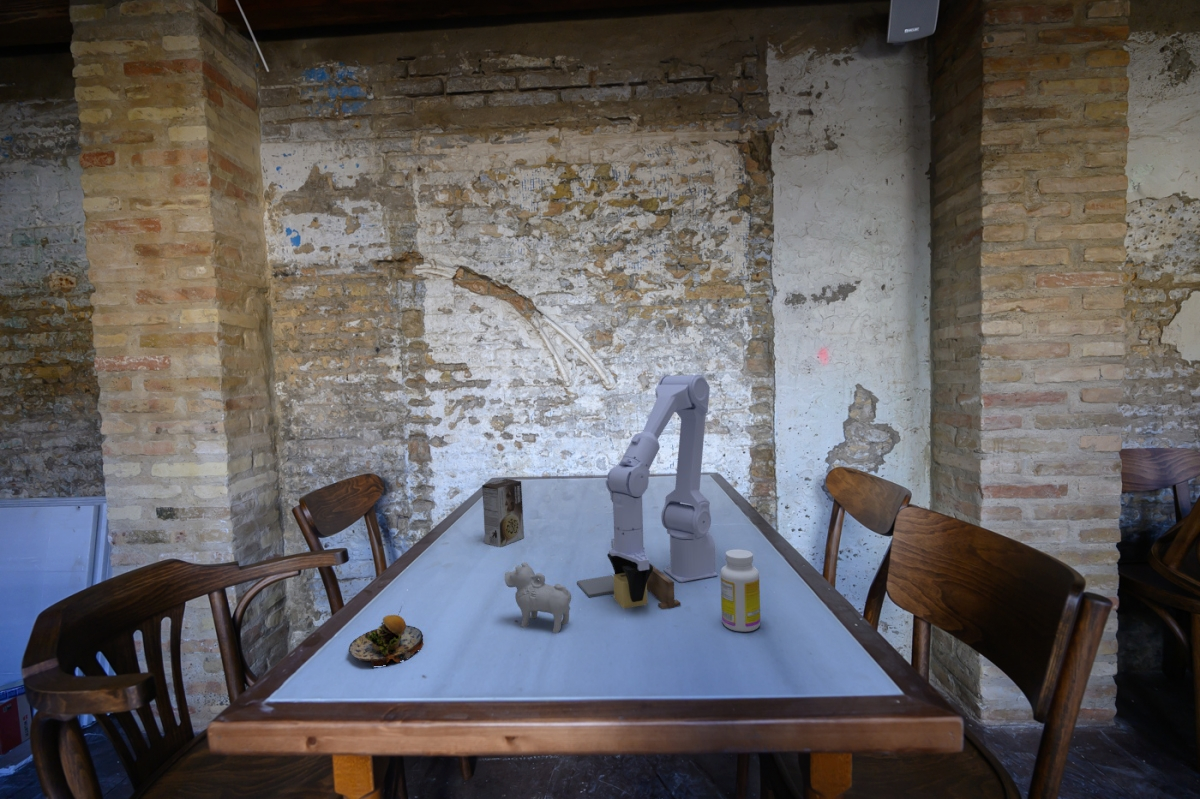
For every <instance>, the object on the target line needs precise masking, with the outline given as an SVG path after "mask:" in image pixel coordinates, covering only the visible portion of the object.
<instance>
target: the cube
mask: <svg viewBox="0 0 1200 799" xmlns="http://www.w3.org/2000/svg"><path fill="white" fill-rule="evenodd" d="M613 577H614V593H613V599H614V601H616V603H617V604H619V605H620V606H621V607H622V609H624V610H625V609H628V608H635V607H639V606H645V605H646V606H647V605H648V590H647V583H646V587H645V592H644V596H643V600H642V601H637V602H632V600H631V597H630V591H629V585H628V580H627V577H626V575H625V573H621V574H615V573H614V574H613Z"/></svg>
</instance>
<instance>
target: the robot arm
mask: <svg viewBox="0 0 1200 799" xmlns="http://www.w3.org/2000/svg"><path fill="white" fill-rule="evenodd" d="M710 388H711V387H710V384H708V381H707V379H706V378H705V377H704V375H702V374H695V375H694V374H691V375H690V374H684V375H670V374H664V375H663V376H661V378H660V379H659V381H658V383H657V385H656V387H655V390H654V391H655V398H656V400H655V402H654V405H653V406H652V409H651V411H650V414H649V416H648V419H647V421H646V423H645V425H644V428H643V430H642V432H639V433H635V434H634V436H632V438H631V440H630V443H629V445H628V447H627V449H626V450H625V453H624V454H623V456H622V457H621V460H620V462H619V464H616V465H615V466H613V467H612V468H611V469H610V470H609V472H608V473H607V478H606V480H605V486H606V489H607V490H608V492H609V494H610V496H609V497H610V500H611V502H612V508H613V509H612V510H613V512H612V513H613V538H611V539H610V540H611V541H610V543H611V544H610V546H611V548H612V549H609V550H608V553H607V558H608V559H609V561H610V564H611V566H612V569H613V572H614V575H615V574H621V573H625V575H626V577H627V580H628V585H629V591H630V597H631V600H632V602H637V601H642V600H643V596H644V592H645V587H646V583H647V580H648V578H649V576H650V574H651V572H652V571H653V566H654V565H652V564H651V563H650V559H649V558H648V556H647V553H646V550H645V549H646V548H645V547H644V520H643V519H644V518H643V517H644V516H643V514H644V512H643V495H644V494H645V492H646V491H647V489H648V486H649V482H650V481H649V478H650V472H651V470H650V468H651V467H652V464H653V462H654V461H655V458H656V456H657V455H658V452H659V450H660V448H661V446H660V443H659V439H660V437H661V435H662V433H663V432H664V430H665V429H666V427H667V425H668V424H669V422H670V420H671V419H672V417H673V415H674V414H675V413H676V414H677V415H678V416H679V418H680V427H679V429H680V430H679V442H678V452H677V453H678V454H677V464H676V475H675V476H676V477H675V488H674V490H672V491H671V492H669V494H667V495H666V496H665V502H664V506H663V508H662V510H661V516H660V519H661V520H660V521H661V523H662V526H663V527H664V528H665V529H666V533H667V534H668V535H669V552H670V554H669V556H670V558H669V559H670V567H669V566H668V567H664V568H663V571H664V572H665V573H666V574H668V575H669V576H670V577H672V578H673V579H674V580H676V581H677V582H679V583H684V582H690V581H695V580H701V579H707V578H711V577H717V576H718V575H719V574H718V572H717V570H716V569H717V566H716V565H717V564H716V543H715V540H714V537H713V535H712V534H711V533H710V532H709V530H710V528H711V524H712V516H711V513H710V512H711V511H710V501H709V500H708V499H707V498H706V496H704V495H703V494H702V493H701V490H700V487H701V478H702V477H701V475H702V466H703V463H702V462H703V455H704V454H703V453H704V452H703V450H704V441H705V440H704V438H705V428H706V427H705V426H706V416H707V413H708V411H709V402H710V401H709V400H710V391H711V390H710ZM649 563H650V564H649Z"/></svg>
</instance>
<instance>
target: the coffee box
mask: <svg viewBox="0 0 1200 799" xmlns="http://www.w3.org/2000/svg"><path fill="white" fill-rule="evenodd" d="M481 488H482V505H483V508H482V509H483V523H484V524H483V526H484V528H483V529H484V544H486V545H489V544H490V546H493V545H494V546H493V547H498V548H503V547H505V546H507V545H510V544H513V543H515V542H517V541H519V540H522V539H524V538H525V532H524V527H525V526H524V509H523V493H522V489H523V488H522V481H521V480H517V479H516V480H515V479H508V478H504V479H501V480H500V479H499V480H496V481H492V482H489V483H488V482H487V483H484V484H482V487H481Z"/></svg>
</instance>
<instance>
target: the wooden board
mask: <svg viewBox="0 0 1200 799" xmlns="http://www.w3.org/2000/svg"><path fill="white" fill-rule="evenodd" d="M649 564H651V563H650V562H649ZM652 566H653V571H652V572H651V574H650V576H649V578H648V580H647V592H648V591H649V593H650V594H652V595H653V596H654V597H655V598H656V599H657V600H659V601H660V602H658V603H657V606H658V607H659V608H660V609H661V610H665V609H672V608H676V607H679V606H680V607H681V606H682V604H681V603H682V602H681V601H680V600H678V599H675V582H674V580H672V579H671V578H670V577H668V576H667V575H666V574H664V573H663V572H662V571H660V570H659V569H658V568H656V567H655V566H654V565H652Z"/></svg>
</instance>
